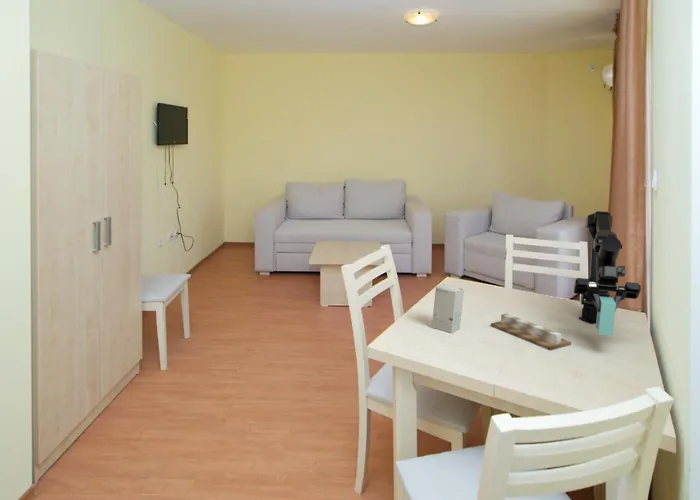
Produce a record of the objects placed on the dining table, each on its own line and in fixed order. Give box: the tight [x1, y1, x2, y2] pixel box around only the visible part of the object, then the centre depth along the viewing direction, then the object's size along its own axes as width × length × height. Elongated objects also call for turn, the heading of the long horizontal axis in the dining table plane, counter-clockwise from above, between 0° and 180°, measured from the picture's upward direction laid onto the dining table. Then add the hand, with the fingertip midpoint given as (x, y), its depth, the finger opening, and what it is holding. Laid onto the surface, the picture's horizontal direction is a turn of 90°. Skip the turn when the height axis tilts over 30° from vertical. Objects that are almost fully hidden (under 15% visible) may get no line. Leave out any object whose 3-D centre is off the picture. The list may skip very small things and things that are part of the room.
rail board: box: [490, 313, 572, 351], centre depth 199 cm, size 26×10×4 cm, turn 31°
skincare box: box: [431, 283, 465, 334], centre depth 203 cm, size 8×6×15 cm
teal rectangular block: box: [595, 296, 617, 337], centre depth 183 cm, size 7×4×10 cm, turn 163°
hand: (606, 312), depth 182 cm, fingers closed on teal rectangular block, 4 cm apart
